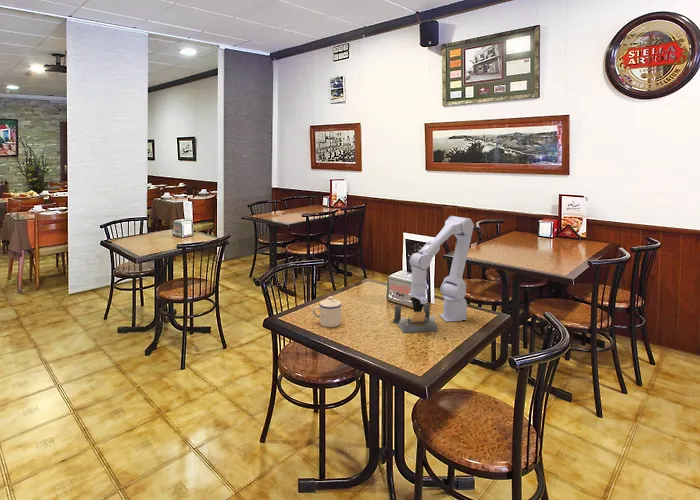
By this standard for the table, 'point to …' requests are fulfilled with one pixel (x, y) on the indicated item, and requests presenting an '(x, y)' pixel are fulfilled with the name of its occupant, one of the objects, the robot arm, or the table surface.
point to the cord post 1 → (397, 314)
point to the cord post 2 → (427, 310)
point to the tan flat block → (418, 317)
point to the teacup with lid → (329, 312)
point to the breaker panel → (417, 325)
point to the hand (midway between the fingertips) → (417, 315)
